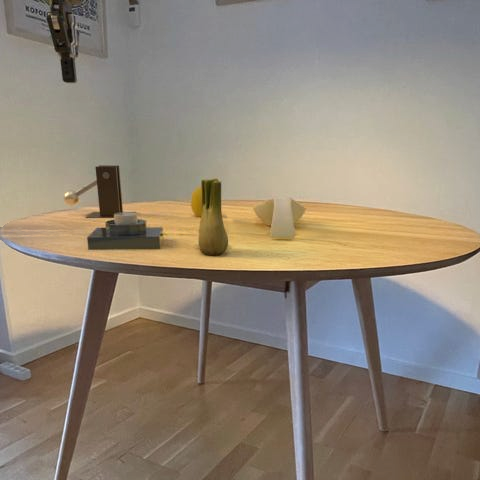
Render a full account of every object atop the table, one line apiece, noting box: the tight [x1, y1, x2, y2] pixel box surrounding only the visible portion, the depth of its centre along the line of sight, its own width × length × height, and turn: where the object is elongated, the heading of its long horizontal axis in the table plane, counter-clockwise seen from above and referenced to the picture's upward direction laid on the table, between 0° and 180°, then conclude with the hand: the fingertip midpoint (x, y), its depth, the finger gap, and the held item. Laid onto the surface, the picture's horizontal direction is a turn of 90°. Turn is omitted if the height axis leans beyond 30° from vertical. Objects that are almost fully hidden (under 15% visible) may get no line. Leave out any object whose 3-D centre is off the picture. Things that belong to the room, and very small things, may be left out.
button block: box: [86, 218, 164, 251], centre depth 83 cm, size 12×9×4 cm
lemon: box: [190, 184, 202, 218], centre depth 107 cm, size 6×6×8 cm
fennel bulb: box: [197, 178, 229, 256], centre depth 75 cm, size 6×5×12 cm
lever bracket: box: [85, 164, 137, 219], centre depth 106 cm, size 10×8×12 cm
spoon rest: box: [252, 197, 307, 240], centre depth 98 cm, size 24×12×7 cm, turn 179°
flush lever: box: [63, 166, 111, 206], centre depth 105 cm, size 13×3×3 cm, turn 96°
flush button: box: [113, 211, 139, 224], centre depth 82 cm, size 4×4×2 cm
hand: (70, 82), depth 85 cm, fingers closed
